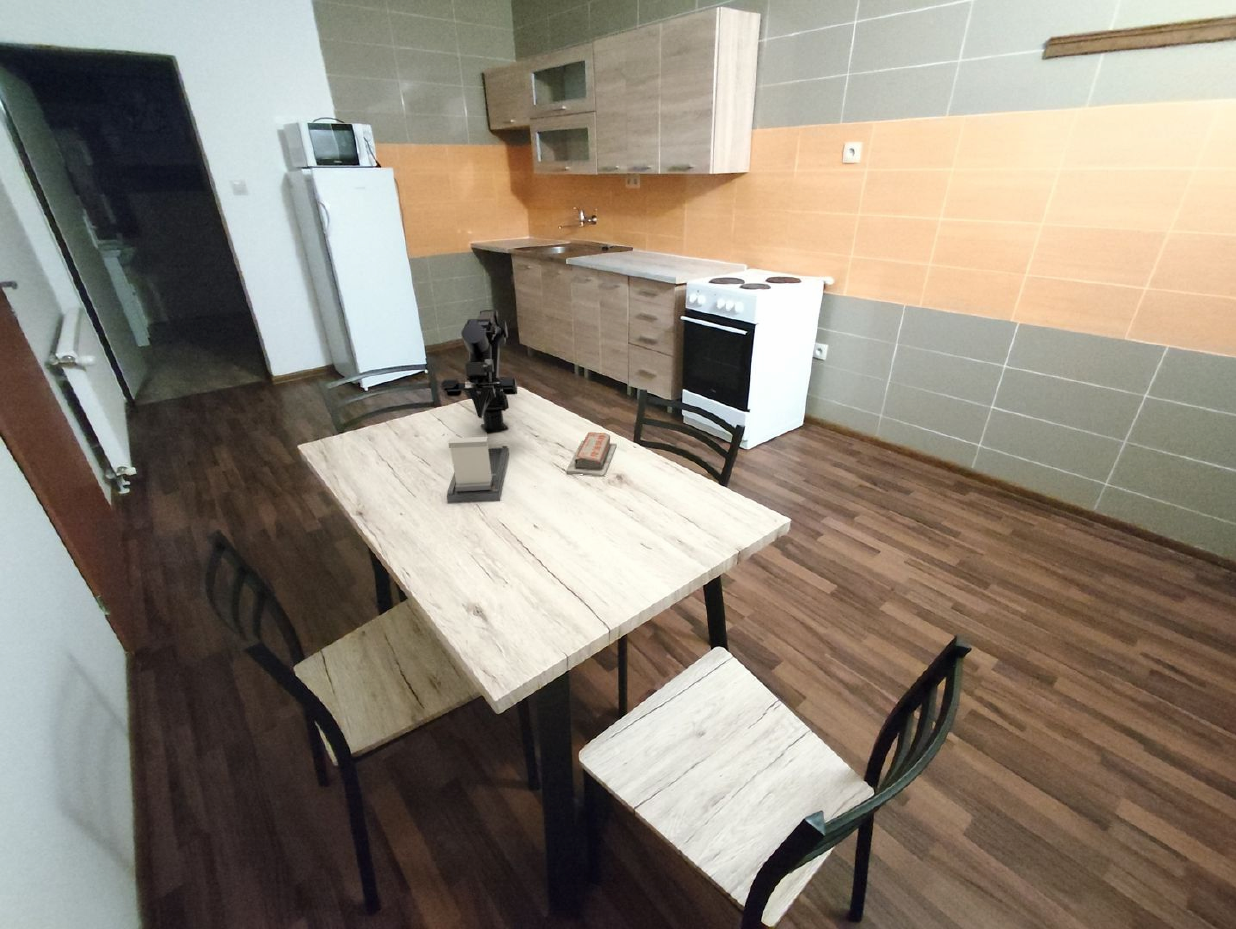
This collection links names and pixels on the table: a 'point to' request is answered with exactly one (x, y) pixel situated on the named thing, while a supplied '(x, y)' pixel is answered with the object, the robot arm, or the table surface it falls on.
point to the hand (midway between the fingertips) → (479, 417)
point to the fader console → (498, 471)
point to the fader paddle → (471, 463)
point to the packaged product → (592, 455)
